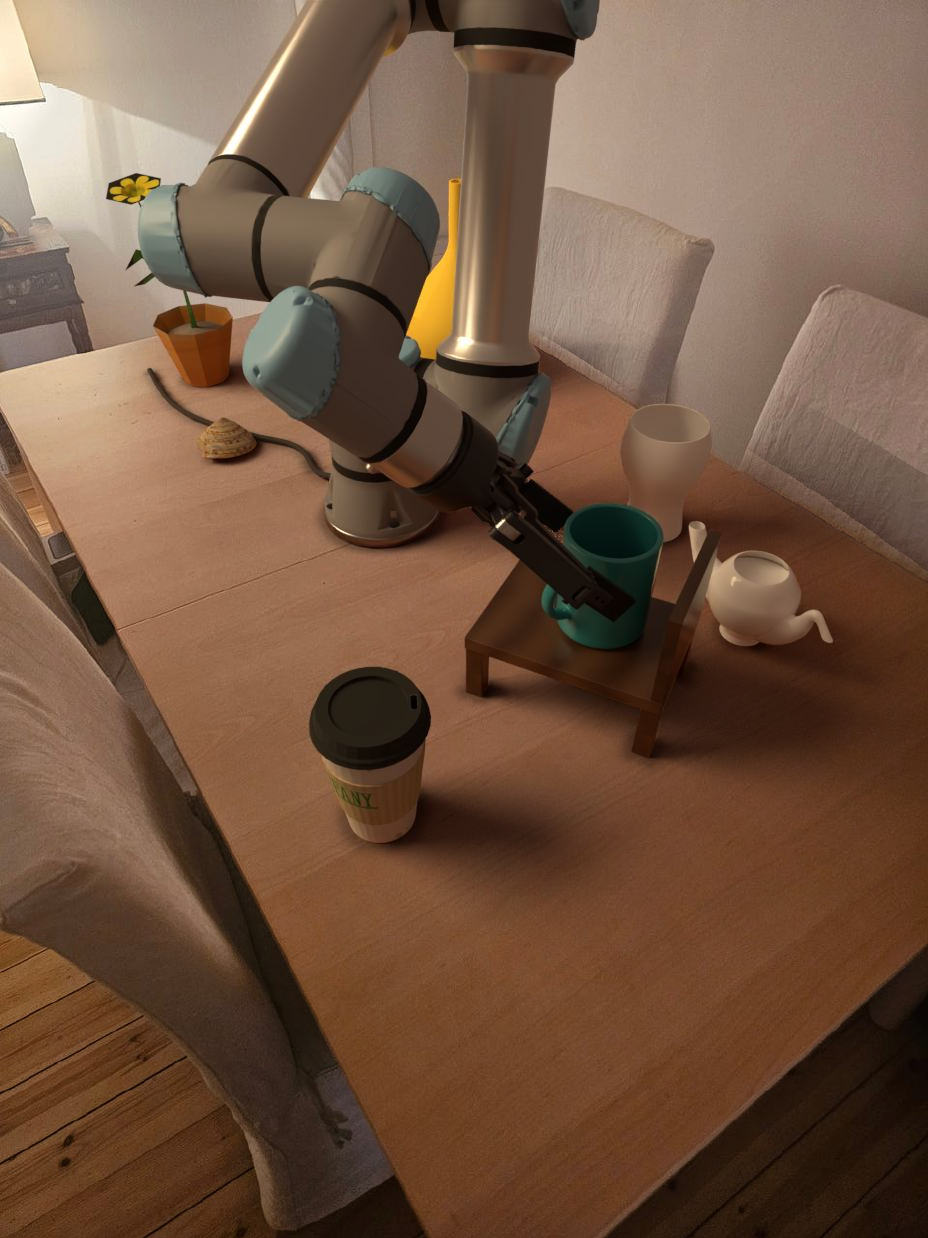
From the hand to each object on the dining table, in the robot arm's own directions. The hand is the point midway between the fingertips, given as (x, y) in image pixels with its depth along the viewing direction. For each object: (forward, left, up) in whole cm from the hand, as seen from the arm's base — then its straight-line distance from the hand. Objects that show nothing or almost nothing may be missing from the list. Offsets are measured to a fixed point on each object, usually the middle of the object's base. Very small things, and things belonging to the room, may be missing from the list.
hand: (592, 563), depth 77 cm
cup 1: (+1, 0, -8) cm, 8 cm away
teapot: (+14, +15, -16) cm, 26 cm away
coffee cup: (-10, -24, -16) cm, 30 cm away
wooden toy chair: (0, 0, -16) cm, 16 cm away
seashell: (-63, +21, -16) cm, 68 cm away
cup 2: (-1, +30, -16) cm, 34 cm away
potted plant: (-81, +38, -16) cm, 91 cm away
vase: (-43, +58, -16) cm, 74 cm away
